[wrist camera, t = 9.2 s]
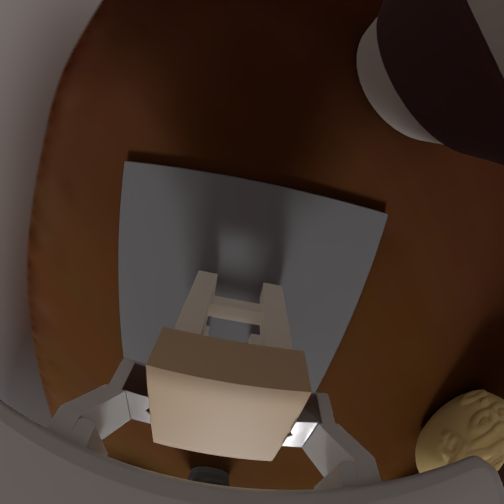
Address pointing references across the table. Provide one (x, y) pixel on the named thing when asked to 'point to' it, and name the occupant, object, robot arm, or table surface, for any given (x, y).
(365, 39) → the coffee cup
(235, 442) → the stool
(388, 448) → the table surface
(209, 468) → the beverage cup
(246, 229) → the mat
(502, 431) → the sculpture
